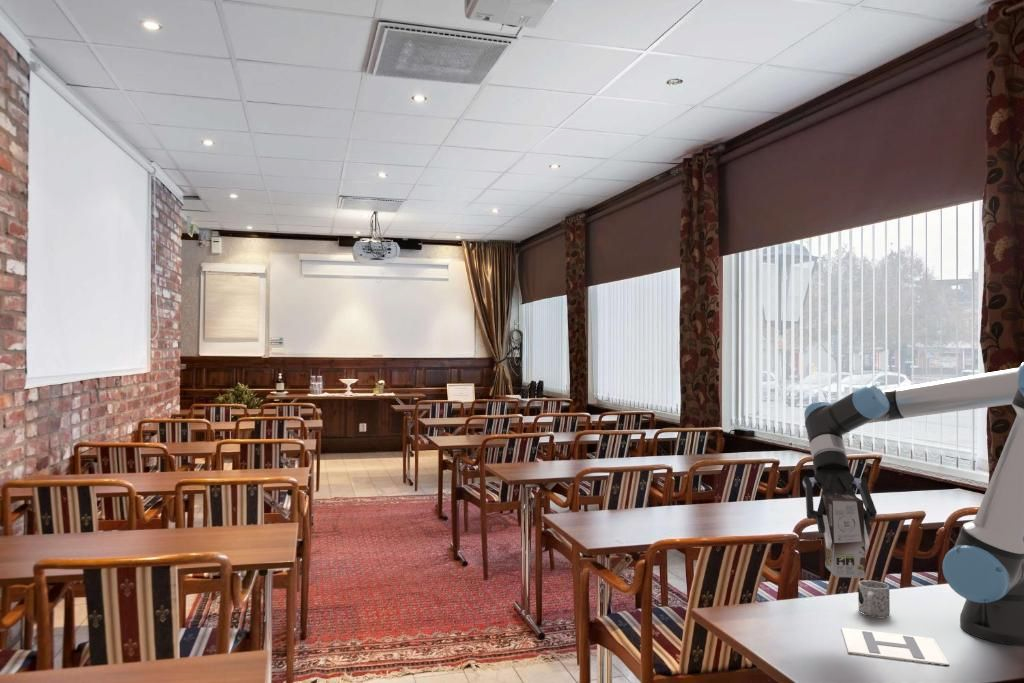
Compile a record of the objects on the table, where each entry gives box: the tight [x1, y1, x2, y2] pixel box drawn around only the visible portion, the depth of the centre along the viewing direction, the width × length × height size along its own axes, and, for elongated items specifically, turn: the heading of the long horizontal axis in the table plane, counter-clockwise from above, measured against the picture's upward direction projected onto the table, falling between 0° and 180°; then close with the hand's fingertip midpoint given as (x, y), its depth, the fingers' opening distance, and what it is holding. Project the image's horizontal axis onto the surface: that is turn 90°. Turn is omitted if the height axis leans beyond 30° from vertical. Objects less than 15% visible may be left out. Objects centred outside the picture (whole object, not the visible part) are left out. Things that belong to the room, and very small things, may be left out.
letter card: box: [840, 627, 950, 666], centre depth 150 cm, size 18×14×1 cm
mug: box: [857, 580, 891, 618], centre depth 170 cm, size 10×7×7 cm
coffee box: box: [821, 494, 867, 579], centre depth 155 cm, size 9×6×16 cm
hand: (847, 545), depth 151 cm, fingers closed on coffee box, 7 cm apart
